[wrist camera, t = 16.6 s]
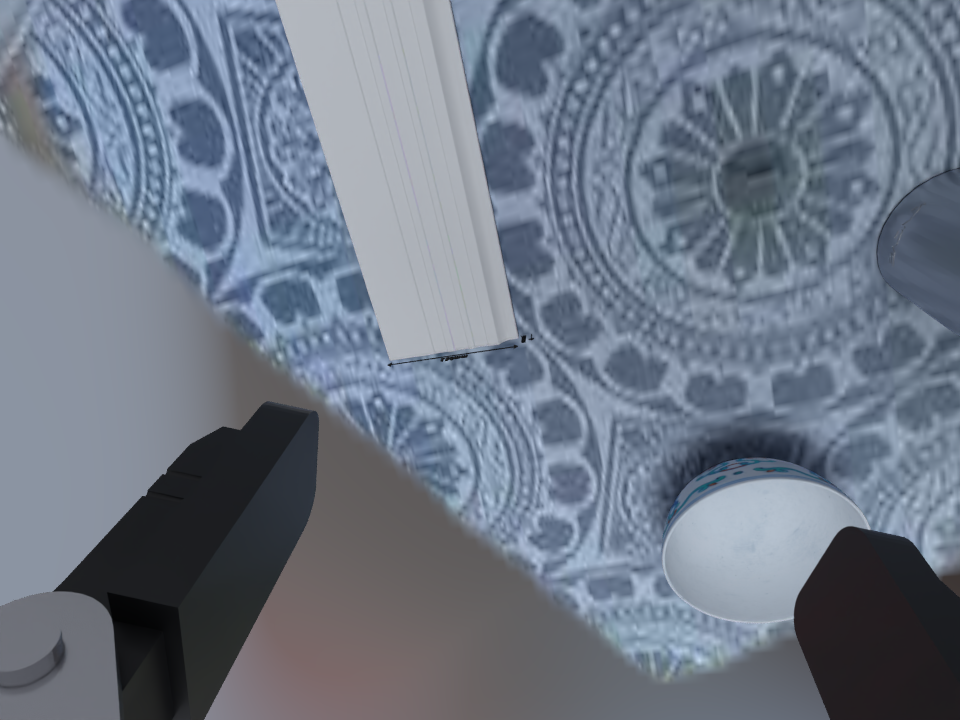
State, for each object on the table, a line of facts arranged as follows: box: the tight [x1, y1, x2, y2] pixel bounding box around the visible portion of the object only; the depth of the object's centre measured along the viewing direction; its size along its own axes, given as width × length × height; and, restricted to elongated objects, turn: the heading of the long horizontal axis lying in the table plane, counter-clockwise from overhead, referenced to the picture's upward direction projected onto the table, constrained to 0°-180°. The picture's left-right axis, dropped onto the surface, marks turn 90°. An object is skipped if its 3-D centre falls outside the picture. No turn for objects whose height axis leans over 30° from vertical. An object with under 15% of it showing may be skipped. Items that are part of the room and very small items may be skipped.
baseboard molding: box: [275, 0, 534, 367], centre depth 40 cm, size 31×3×12 cm
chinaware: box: [662, 458, 871, 623], centre depth 48 cm, size 15×15×8 cm
